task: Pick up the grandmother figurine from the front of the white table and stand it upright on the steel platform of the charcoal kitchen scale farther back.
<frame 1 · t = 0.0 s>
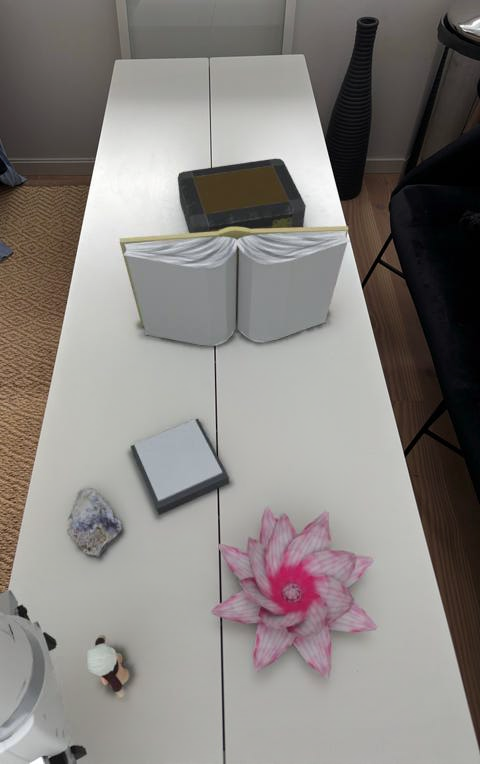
hand: (54, 702, 51), 23 cm above the table, tool pointing down, fingers open, 9 cm apart
scale: (179, 468, 90), on the table
book: (236, 330, 107), on the table
mineral specimen: (97, 523, 84), on the table
grandmother figurine: (117, 673, 73), on the table
cash box: (239, 217, 126), on the table
decorative flower: (289, 600, 78), on the table
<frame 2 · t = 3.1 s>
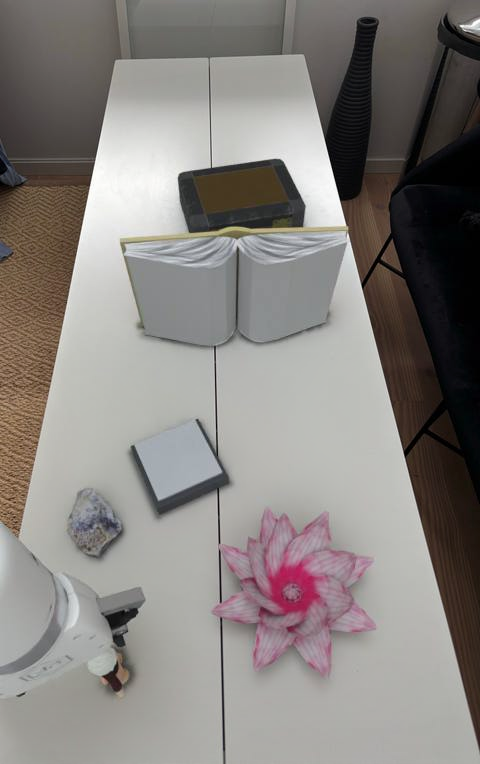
hand: (70, 654, 53), 23 cm above the table, tool pointing down, fingers open, 9 cm apart
nothing on the table moved.
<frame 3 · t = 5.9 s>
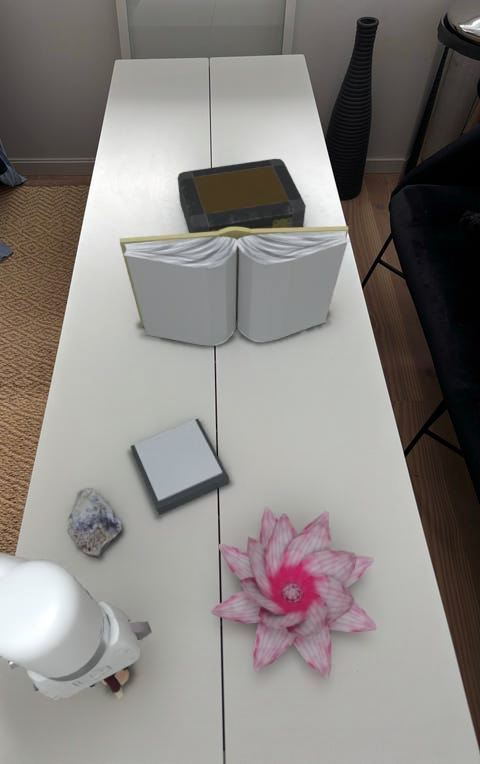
hand: (105, 664, 66), 8 cm above the table, tool pointing down, fingers closed on grandmother figurine, 3 cm apart
grandmother figurine: (117, 673, 72), on the table, touching gripper
everything else where it was.
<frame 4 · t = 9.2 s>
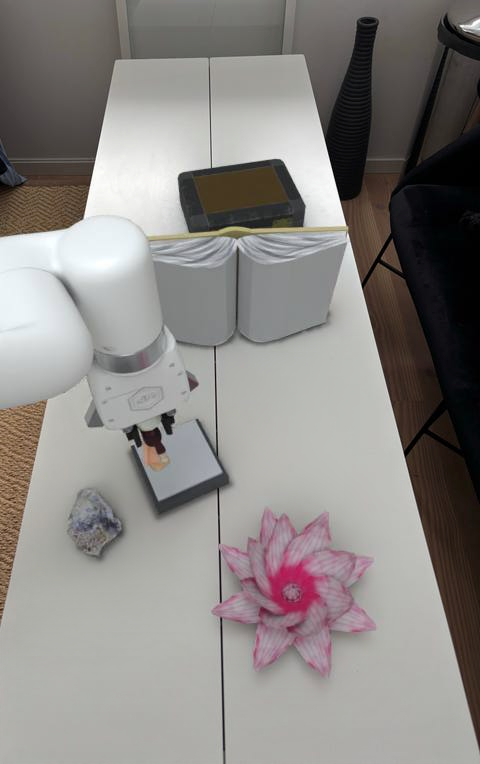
hand: (151, 431, 68), 22 cm above the table, tool pointing down, fingers closed on grandmother figurine, 3 cm apart
grandmother figurine: (158, 460, 74), point 15 cm above the table, touching gripper
everything else where it was.
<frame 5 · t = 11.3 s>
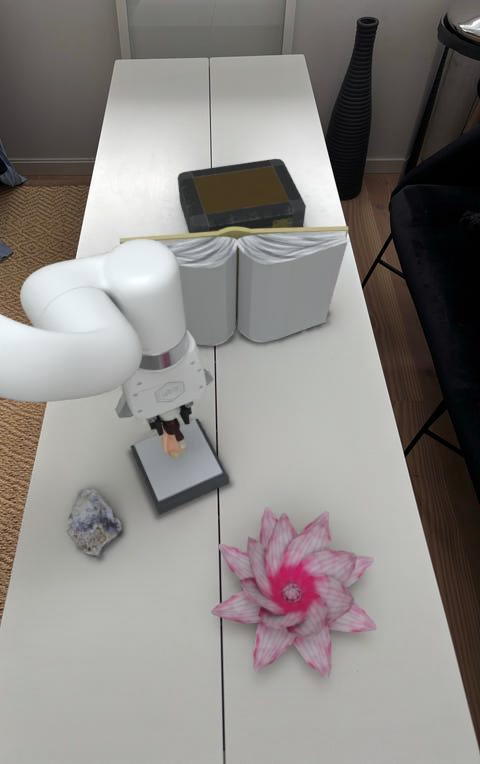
hand: (170, 421, 77), 15 cm above the table, tool pointing down, fingers closed on grandmother figurine, 3 cm apart
grandmother figurine: (175, 447, 84), point 7 cm above the table, touching gripper
everything else where it was.
when the fingers open (11 cm above the table, at t = 12.7 s): grandmother figurine stays where it is, resting on scale.
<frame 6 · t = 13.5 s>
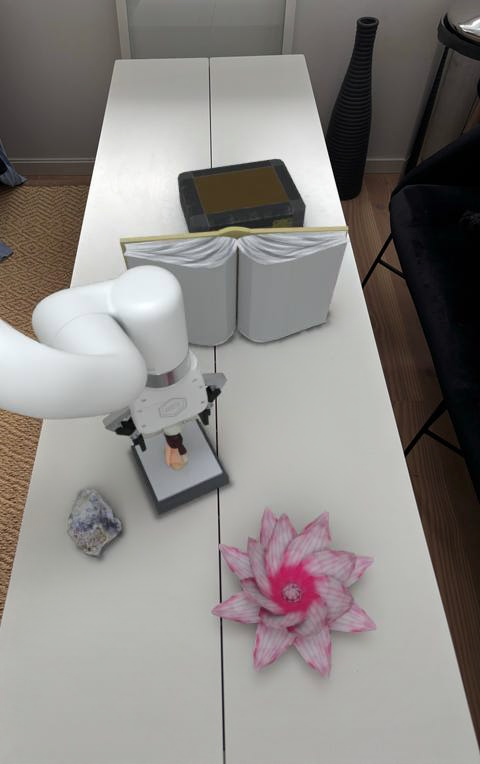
hand: (172, 430, 79), 12 cm above the table, tool pointing down, fingers open, 9 cm apart
grandmother figurine: (177, 460, 87), point 3 cm above the table, touching scale
everything else where it was.
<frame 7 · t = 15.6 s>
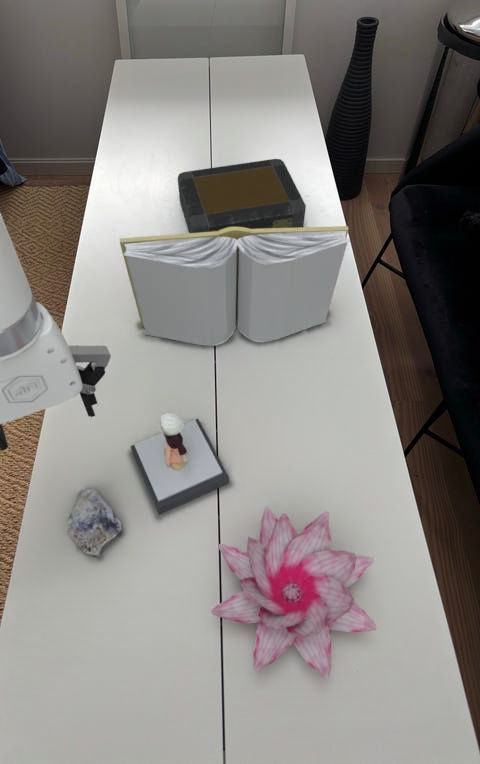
hand: (46, 422, 61), 29 cm above the table, tool pointing down, fingers open, 9 cm apart
nothing on the table moved.
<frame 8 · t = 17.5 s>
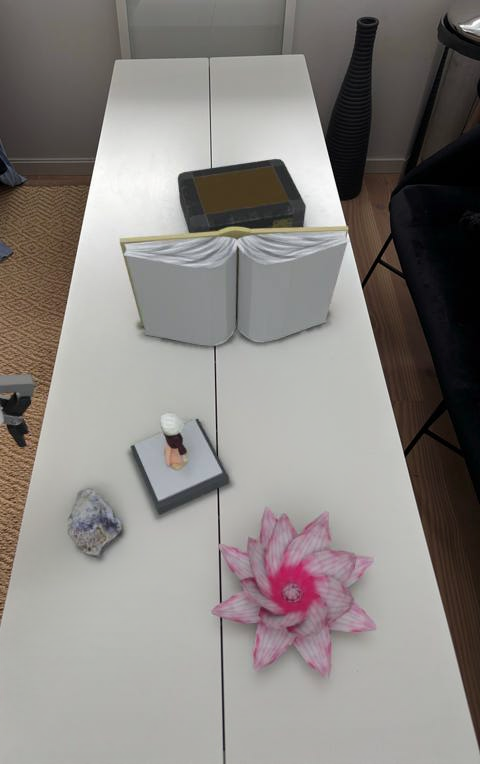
nothing on the table moved.
at the end: grandmother figurine inside the target area on the scale (0.2 cm from its centre), point 2.9 cm above the scale's base; grandmother figurine tilted 0° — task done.
